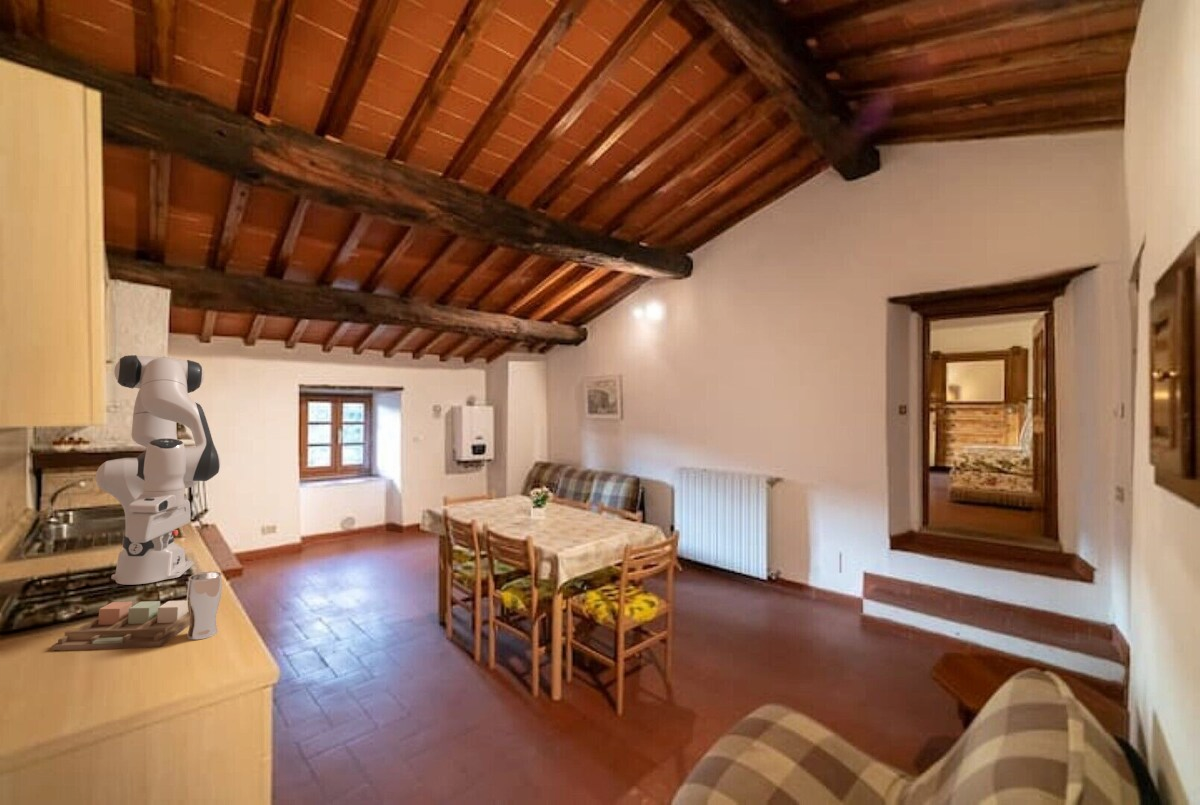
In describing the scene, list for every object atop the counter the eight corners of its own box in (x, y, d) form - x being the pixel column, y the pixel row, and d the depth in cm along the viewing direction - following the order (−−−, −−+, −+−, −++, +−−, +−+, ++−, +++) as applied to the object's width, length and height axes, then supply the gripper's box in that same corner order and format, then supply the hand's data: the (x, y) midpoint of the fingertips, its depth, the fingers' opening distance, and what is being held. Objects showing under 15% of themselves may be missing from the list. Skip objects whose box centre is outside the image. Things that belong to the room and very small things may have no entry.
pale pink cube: (168, 615, 137) (168, 600, 137) (187, 615, 138) (188, 600, 138) (157, 623, 133) (157, 607, 133) (176, 622, 134) (177, 607, 134)
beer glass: (183, 643, 126) (187, 582, 126) (185, 632, 132) (188, 573, 132) (219, 636, 130) (222, 577, 130) (219, 626, 136) (222, 569, 136)
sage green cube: (139, 616, 136) (140, 601, 136) (159, 616, 137) (160, 601, 137) (128, 623, 132) (128, 608, 132) (148, 623, 133) (149, 607, 133)
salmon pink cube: (111, 617, 135) (112, 602, 135) (131, 616, 136) (132, 601, 136) (98, 624, 130) (99, 609, 130) (118, 624, 131) (119, 608, 131)
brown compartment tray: (108, 618, 137) (109, 606, 137) (202, 615, 141) (202, 604, 141) (51, 650, 119) (52, 637, 119) (160, 646, 124) (160, 633, 124)
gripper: (174, 490, 150) (171, 538, 150) (123, 507, 130) (120, 561, 130) (198, 491, 151) (196, 538, 151) (152, 508, 131) (149, 561, 131)
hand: (160, 549), depth 140 cm, fingers closed
